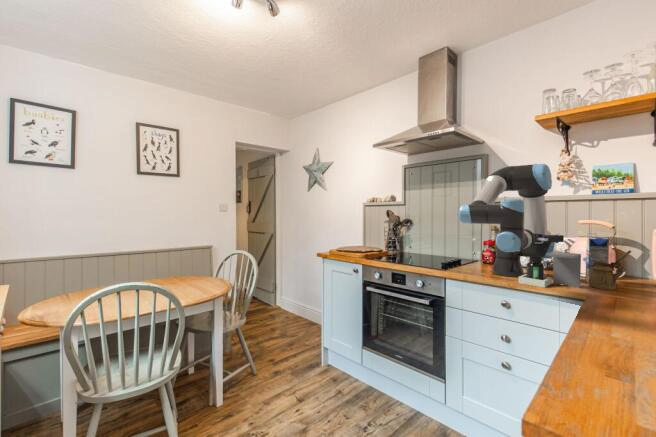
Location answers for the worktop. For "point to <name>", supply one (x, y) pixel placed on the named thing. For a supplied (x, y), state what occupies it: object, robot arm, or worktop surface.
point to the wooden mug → (606, 274)
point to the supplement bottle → (535, 268)
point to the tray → (535, 281)
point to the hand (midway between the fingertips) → (540, 235)
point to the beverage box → (595, 254)
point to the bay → (566, 268)
